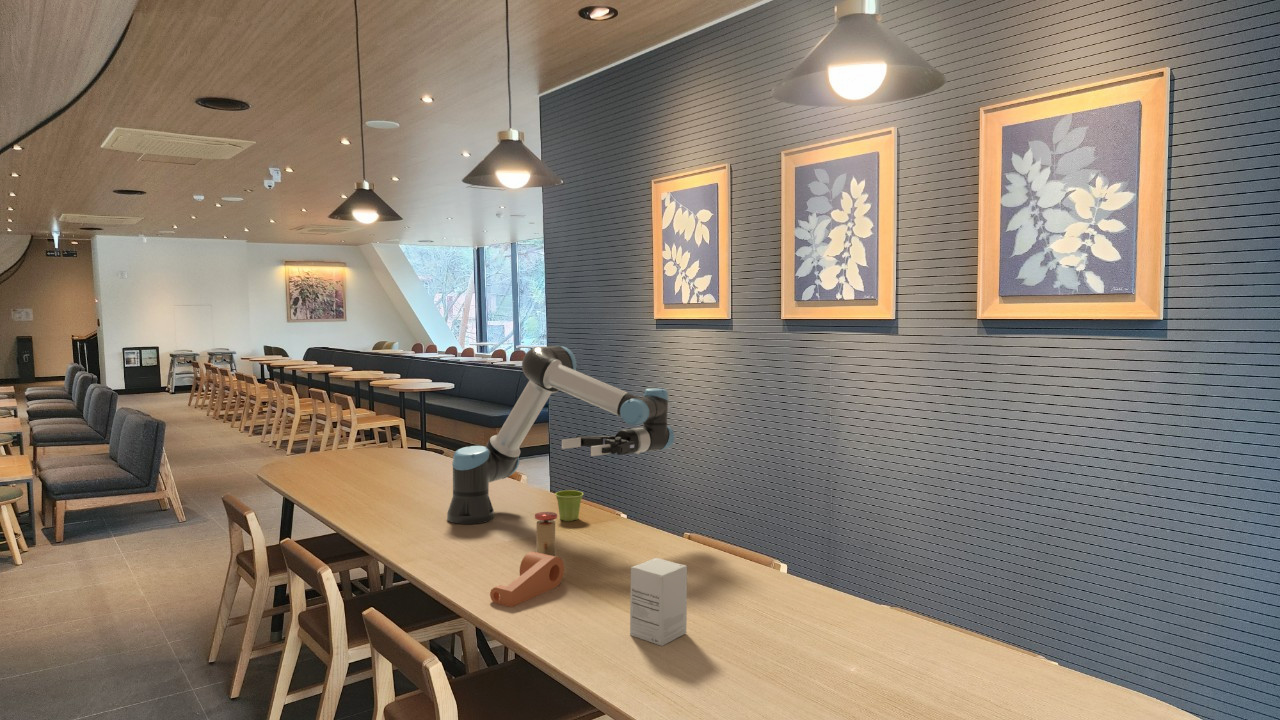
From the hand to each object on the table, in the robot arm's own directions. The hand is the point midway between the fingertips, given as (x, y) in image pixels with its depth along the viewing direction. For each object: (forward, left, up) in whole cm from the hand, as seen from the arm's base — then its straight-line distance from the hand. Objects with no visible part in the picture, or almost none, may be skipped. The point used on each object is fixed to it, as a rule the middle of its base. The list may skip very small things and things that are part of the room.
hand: (576, 447), depth 224 cm
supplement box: (+58, -23, -30) cm, 70 cm away
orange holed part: (+18, -30, -31) cm, 47 cm away
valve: (+5, -14, -30) cm, 34 cm away
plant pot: (-30, +21, -30) cm, 47 cm away
